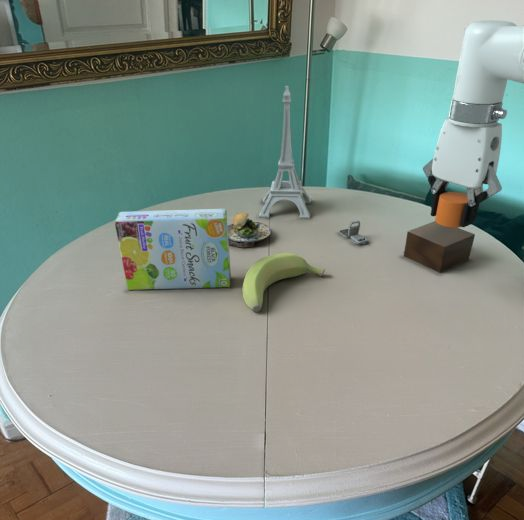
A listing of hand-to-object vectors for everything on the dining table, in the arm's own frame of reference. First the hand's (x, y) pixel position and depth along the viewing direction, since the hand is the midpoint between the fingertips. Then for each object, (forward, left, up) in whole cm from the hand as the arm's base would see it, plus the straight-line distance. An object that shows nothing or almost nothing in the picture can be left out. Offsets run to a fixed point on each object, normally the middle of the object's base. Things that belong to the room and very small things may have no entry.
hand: (451, 218), depth 94 cm
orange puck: (0, 0, -1) cm, 1 cm away
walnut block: (+10, -13, -16) cm, 22 cm away
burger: (+45, +14, -16) cm, 50 cm away
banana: (+20, +22, -16) cm, 34 cm away
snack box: (+35, +38, -16) cm, 54 cm away
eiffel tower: (+54, -5, -16) cm, 57 cm away
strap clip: (+29, -6, -16) cm, 34 cm away
